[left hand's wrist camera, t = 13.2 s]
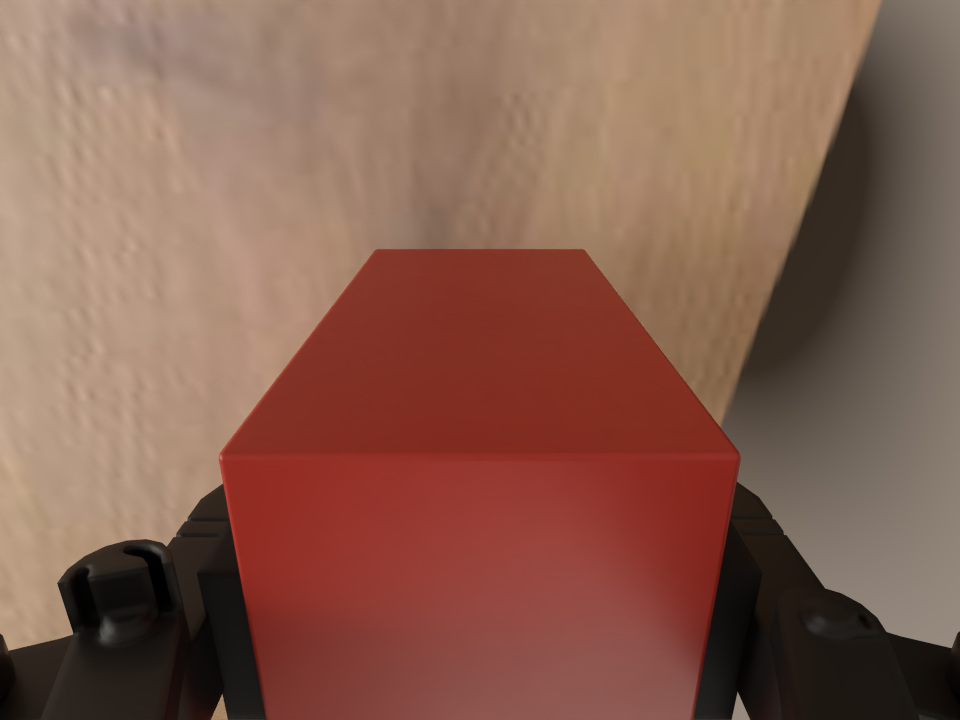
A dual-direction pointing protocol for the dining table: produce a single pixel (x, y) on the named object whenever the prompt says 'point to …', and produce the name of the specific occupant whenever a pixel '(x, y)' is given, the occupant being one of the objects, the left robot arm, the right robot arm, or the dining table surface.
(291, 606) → the block
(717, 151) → the dining table surface
